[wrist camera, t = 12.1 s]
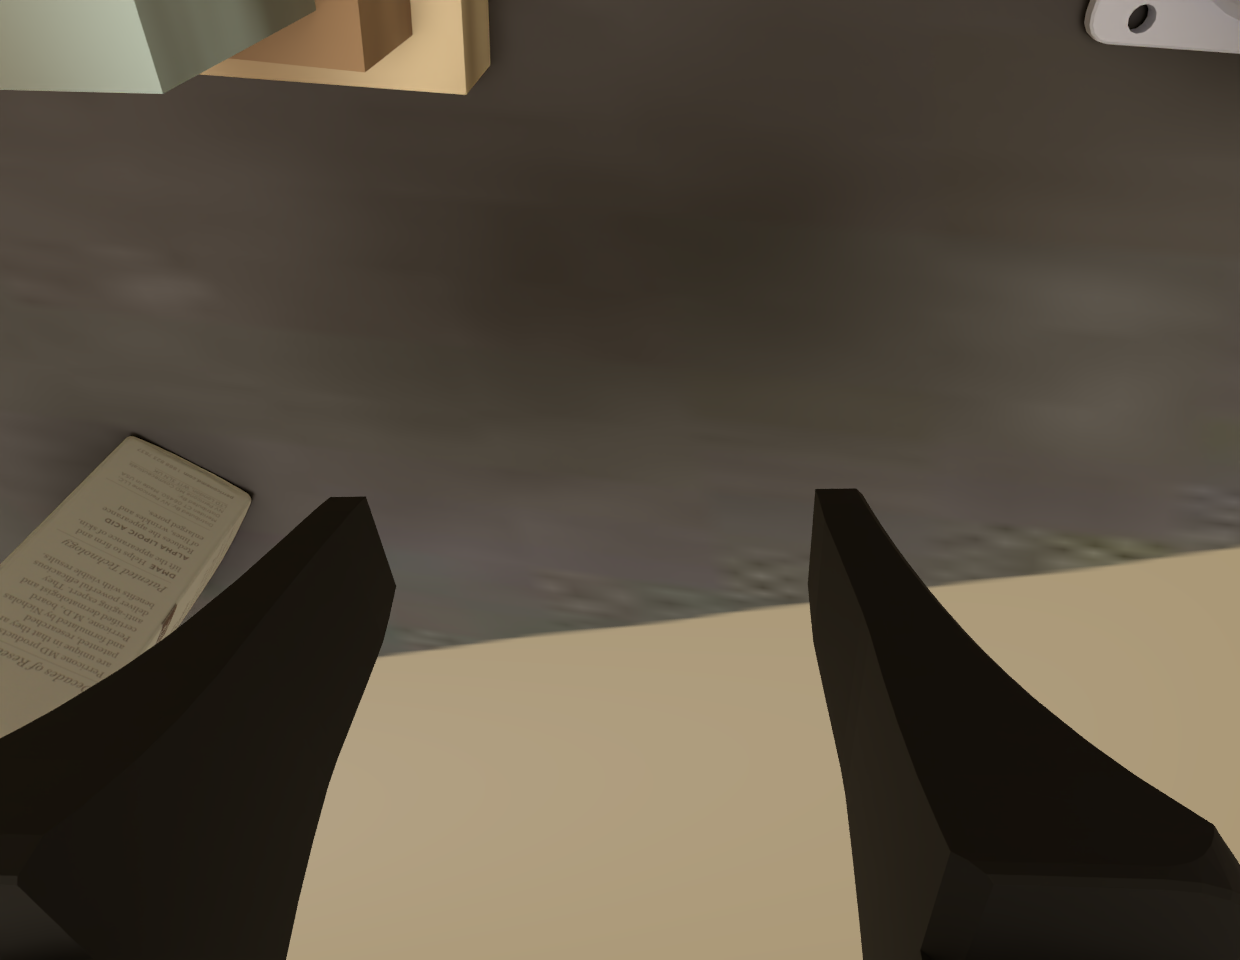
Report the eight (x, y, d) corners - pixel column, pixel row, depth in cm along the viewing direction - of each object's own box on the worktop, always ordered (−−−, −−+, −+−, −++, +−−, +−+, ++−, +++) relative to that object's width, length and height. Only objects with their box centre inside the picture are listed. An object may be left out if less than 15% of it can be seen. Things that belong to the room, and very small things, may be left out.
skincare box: (205, 593, 31) (-14, 941, 21) (79, 536, 30) (-214, 881, 20) (261, 487, 28) (30, 844, 18) (122, 418, 26) (-207, 765, 17)
